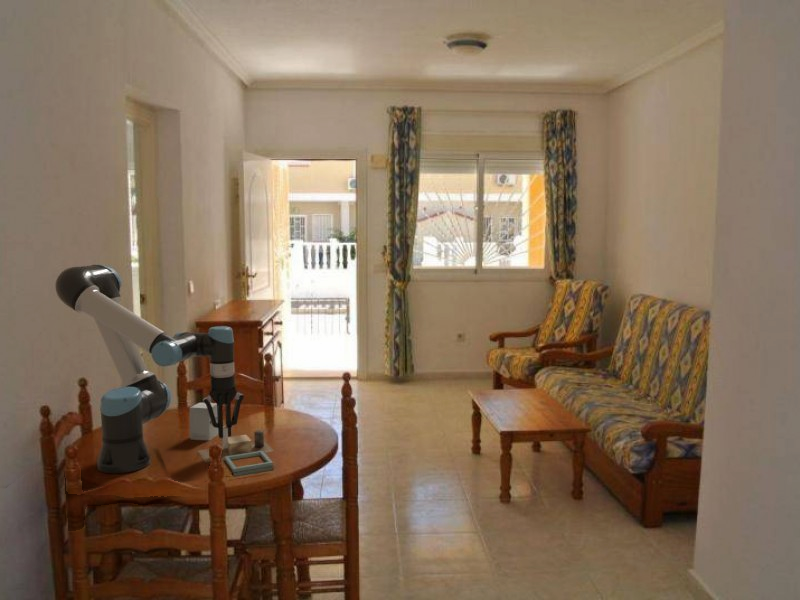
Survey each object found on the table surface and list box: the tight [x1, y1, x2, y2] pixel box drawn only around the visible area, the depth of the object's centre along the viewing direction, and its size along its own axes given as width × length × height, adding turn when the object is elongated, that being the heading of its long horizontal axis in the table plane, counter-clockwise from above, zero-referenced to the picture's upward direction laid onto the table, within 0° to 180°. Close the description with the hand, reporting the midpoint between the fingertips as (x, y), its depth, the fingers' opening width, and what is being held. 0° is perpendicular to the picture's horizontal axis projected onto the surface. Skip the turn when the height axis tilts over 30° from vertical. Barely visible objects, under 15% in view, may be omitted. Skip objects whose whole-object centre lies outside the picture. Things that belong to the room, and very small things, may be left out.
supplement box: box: [188, 402, 218, 441], centre depth 230 cm, size 7×7×13 cm
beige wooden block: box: [226, 434, 252, 454], centre depth 217 cm, size 7×7×4 cm
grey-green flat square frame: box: [224, 451, 274, 478], centre depth 205 cm, size 12×12×2 cm
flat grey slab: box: [197, 429, 275, 463], centre depth 216 cm, size 22×12×6 cm, turn 117°
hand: (225, 446), depth 215 cm, fingers closed
